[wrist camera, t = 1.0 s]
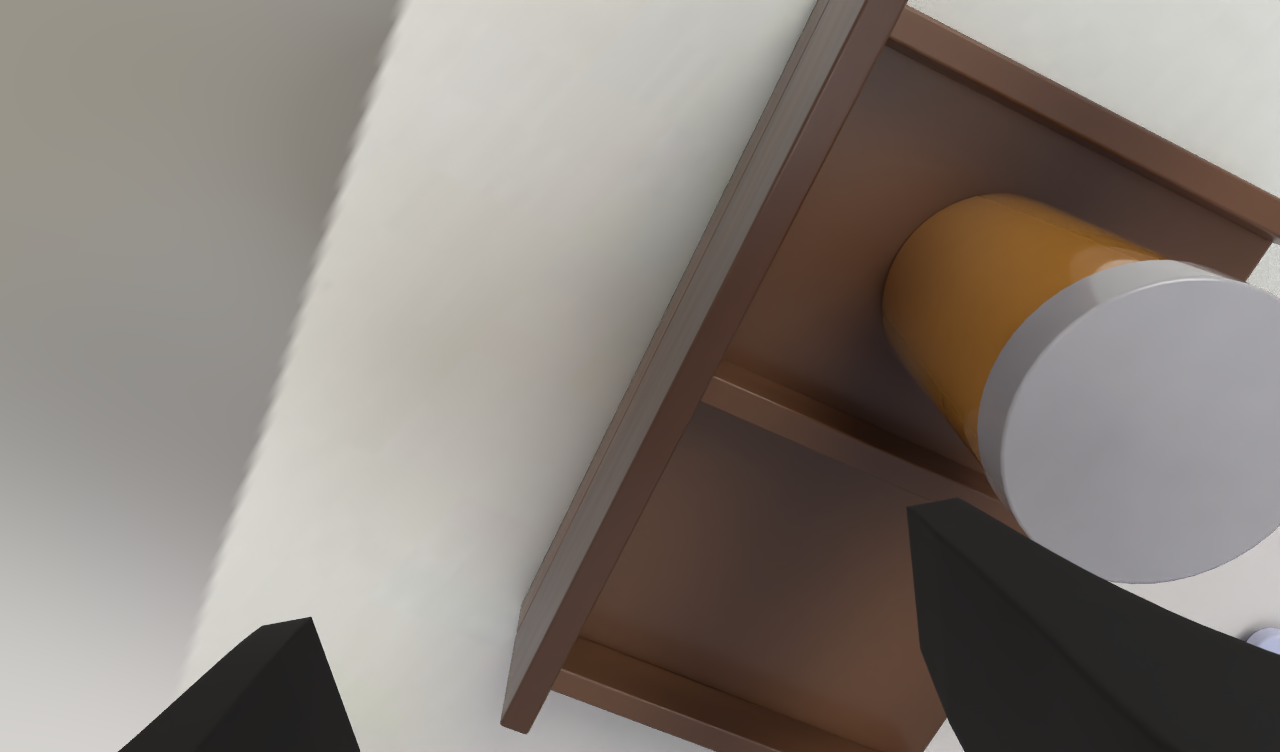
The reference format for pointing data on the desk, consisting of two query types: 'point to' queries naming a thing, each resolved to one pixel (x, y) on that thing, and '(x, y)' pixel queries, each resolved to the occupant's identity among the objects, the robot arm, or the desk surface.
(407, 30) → the desk surface
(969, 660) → the robot arm
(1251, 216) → the tray
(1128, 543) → the disc
